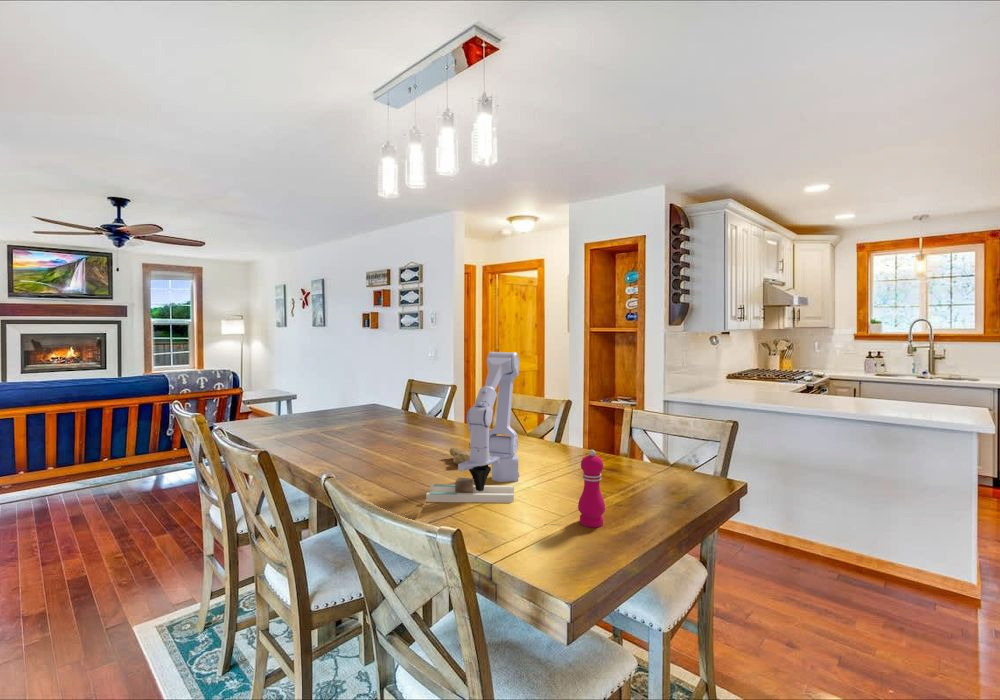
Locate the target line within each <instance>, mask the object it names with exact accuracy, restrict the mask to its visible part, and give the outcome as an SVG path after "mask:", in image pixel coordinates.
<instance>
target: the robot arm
mask: <svg viewBox="0 0 1000 700" xmlns="http://www.w3.org/2000/svg"><path fill="white" fill-rule="evenodd" d="M518 354H519V353H517V352H516V351H513V352H512V351H511V352H510V351H509V352H508V351H505V352H504V351H489V353H488V354H487V356H486V357H487V358H486V365H487V370H488V372H487V376H486V379H485V385H484V386H482V387H480V389H479V390H478V394H477V396H476V399H475V401H474V403H473V406H472V407H469V409H468V410H467V413H466V423H467V425H468V426H467V428H468V431H469V432H470V433H469V436H470V437H469V438H470V439H469V443H470V448H469V450H470V460H468V461H466V462H463V463H460V464H457V467H458V468H457V471H459V472H465V471H469V472H470V473H469V474H471V478H473V484H474V485H475V487H476V490H478V491H483V490H484V486H485V485H486V481H487V479H488V477H489V474H490V472H491V476H490V477H491V480H492V481H494V482H499V483H500V482H501V483H503V482H504V483H505V482H519V478H520V471H519V455H516V454H517V453H518V449H519V441H518V437H519V435H518V433H517V432H516V431H515V429H514V428H512V427H511V419H512V418H511V417H512V403H513V391H514V381H515V379H516V378H517V377H519V373H520V358H519V355H518ZM497 387H498V393H497V391H496V390H497ZM496 399H497V406H496V418H495V419H496V420H495V426H494V427H492V428H491V429H490V426H491V424H492V422H493V414H494V409H493V408H494V405H495V402H496ZM490 465H491V466H490Z"/></svg>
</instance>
